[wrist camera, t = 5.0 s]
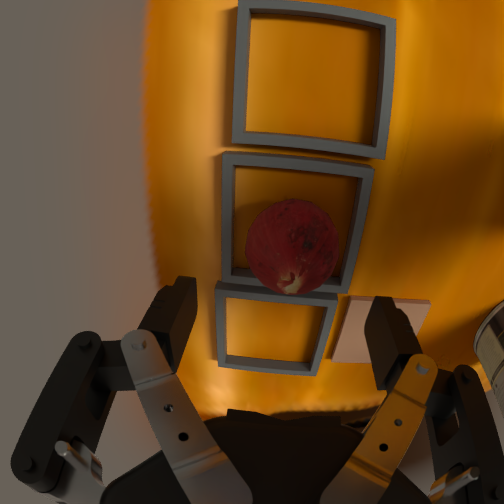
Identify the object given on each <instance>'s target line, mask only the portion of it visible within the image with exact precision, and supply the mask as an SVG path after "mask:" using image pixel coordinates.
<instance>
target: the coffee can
mask: <svg viewBox="0 0 504 504" xmlns="http://www.w3.org/2000/svg"><path fill="white" fill-rule="evenodd" d="M473 347H474V351H475V353H476V355H477V356H478V358H479V360H480V362H481V364H482V367H483V369H484V371H485V373H486V376H487V378H488V380H489V382H490V385H491V387H492V390H493V392H494V394H495V397H496V399H497V402H498V404H499V407H500V410H501V412H502V415H503V418H504V301H503V302H501V303H500V304H499V305H497V306H496V307H495V308H494V309H493V310H492V311H491V312H490V314H489V315H488V316H487V317H486V318H485V320H484V321H483V322H482V324H481V326H480V327H479V329H478V331H477V333H476V336H475V339H474V344H473Z"/></svg>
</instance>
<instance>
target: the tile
mask: <svg viewBox="0 0 504 504" xmlns="http://www.w3.org/2000/svg"><path fill="white" fill-rule="evenodd" d="M374 298H375V297H363V296H350V298H349V302H348V305H347V309H346V312H345V315H344V319H343V322H342V325H341V328H340V331H339V335H338V338H337V341H336V344H335V347H334V350H333V353H332V356H331V362H345V363H371V359H370V355H369V351H368V347H367V343H366V339H365V335H364V325H365V321H366V318H367V316H368V313H369V310H370V308H371V305H372V302H373V300H374ZM393 301H394V303H395V305H396V308H400V309H401V310H402V311H403V312H404V313H405V314H406V315H407V316H408V318H409V321H410V323H411V326H412V328H413V330H414V332H415V335H416V336H417V334H418V332H419V330H420V328H421V325H422V323H423V321H424V319H425V317H426V315H427V313H428V311H429V308H430V306H431V303H430V301H429V300H412V299H394V298H393Z"/></svg>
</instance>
